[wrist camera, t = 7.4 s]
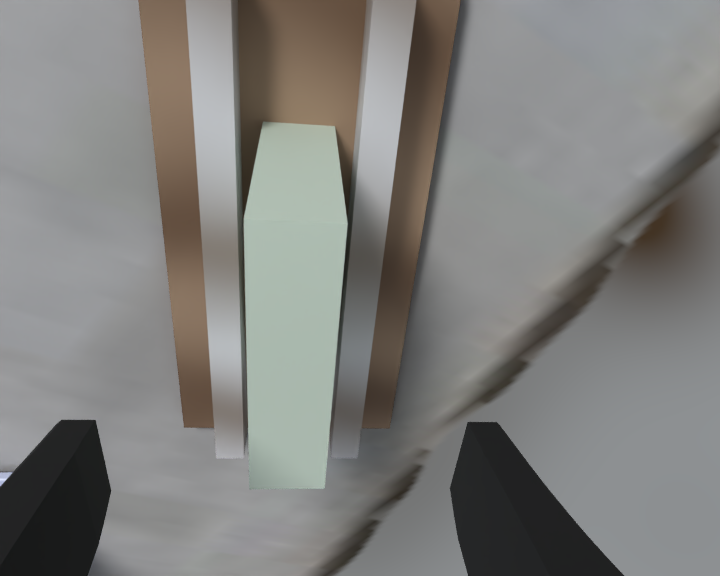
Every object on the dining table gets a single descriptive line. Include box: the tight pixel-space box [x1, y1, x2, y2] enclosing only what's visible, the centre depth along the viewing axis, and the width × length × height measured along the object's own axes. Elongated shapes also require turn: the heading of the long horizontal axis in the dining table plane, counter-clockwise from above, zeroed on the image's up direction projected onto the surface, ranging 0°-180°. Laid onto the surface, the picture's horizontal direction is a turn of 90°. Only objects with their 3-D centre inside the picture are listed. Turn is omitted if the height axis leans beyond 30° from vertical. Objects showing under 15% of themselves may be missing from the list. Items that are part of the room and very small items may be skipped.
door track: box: [139, 0, 461, 458], centre depth 18 cm, size 16×8×2 cm, turn 175°
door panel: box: [244, 122, 348, 489], centre depth 16 cm, size 8×2×6 cm, turn 175°
